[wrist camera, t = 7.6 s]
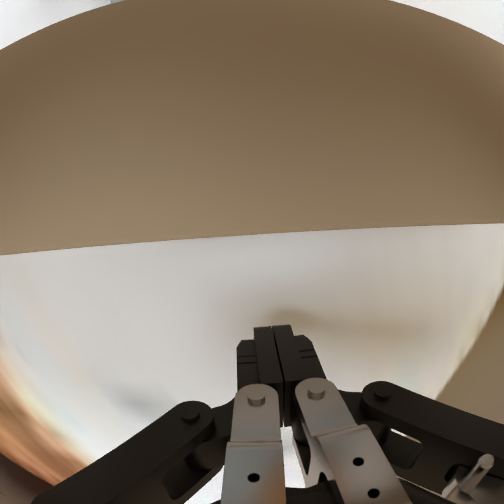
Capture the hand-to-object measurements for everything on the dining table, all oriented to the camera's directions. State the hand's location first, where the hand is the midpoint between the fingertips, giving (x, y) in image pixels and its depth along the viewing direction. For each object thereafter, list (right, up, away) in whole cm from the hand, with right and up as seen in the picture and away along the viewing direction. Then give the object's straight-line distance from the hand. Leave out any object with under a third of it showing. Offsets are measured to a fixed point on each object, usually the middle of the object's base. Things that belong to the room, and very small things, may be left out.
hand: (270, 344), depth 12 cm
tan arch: (-1, +8, 0) cm, 8 cm away
